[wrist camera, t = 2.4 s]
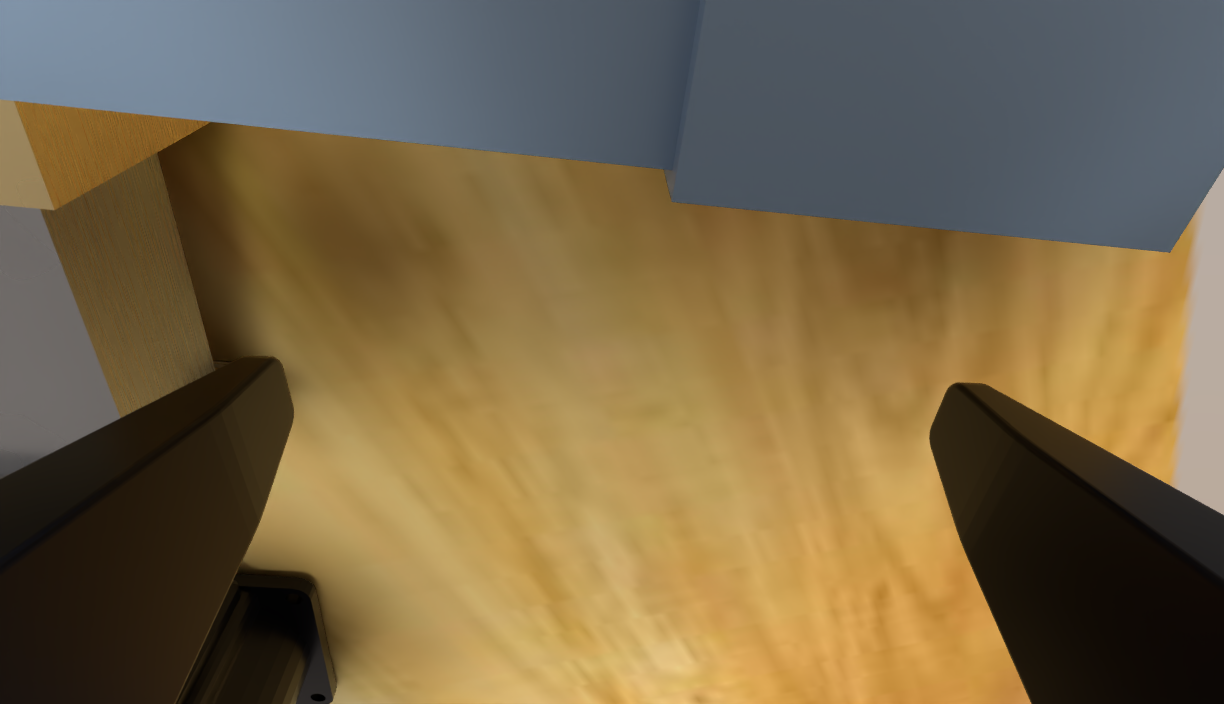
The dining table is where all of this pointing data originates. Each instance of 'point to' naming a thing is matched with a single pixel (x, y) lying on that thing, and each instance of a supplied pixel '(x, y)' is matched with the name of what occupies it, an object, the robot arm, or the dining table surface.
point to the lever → (706, 94)
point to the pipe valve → (88, 275)
